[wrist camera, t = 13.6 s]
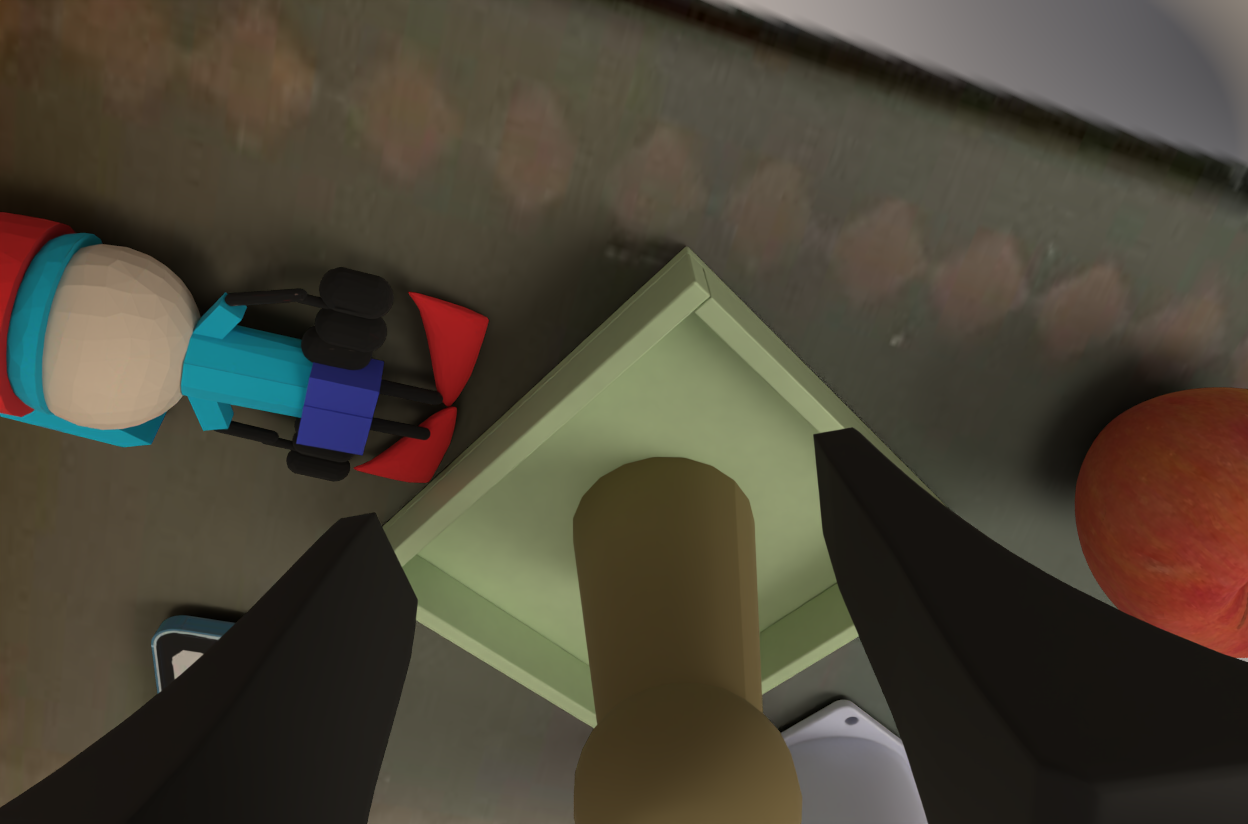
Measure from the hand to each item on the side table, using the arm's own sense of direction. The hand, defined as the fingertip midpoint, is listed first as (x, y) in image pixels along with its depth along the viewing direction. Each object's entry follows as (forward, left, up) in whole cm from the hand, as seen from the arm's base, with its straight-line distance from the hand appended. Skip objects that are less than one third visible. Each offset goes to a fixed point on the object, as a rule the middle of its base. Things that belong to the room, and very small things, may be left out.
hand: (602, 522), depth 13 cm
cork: (-8, +5, -10) cm, 13 cm away
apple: (-16, -8, -11) cm, 21 cm away
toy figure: (+7, +9, -11) cm, 16 cm away
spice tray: (-8, +5, -10) cm, 14 cm away
